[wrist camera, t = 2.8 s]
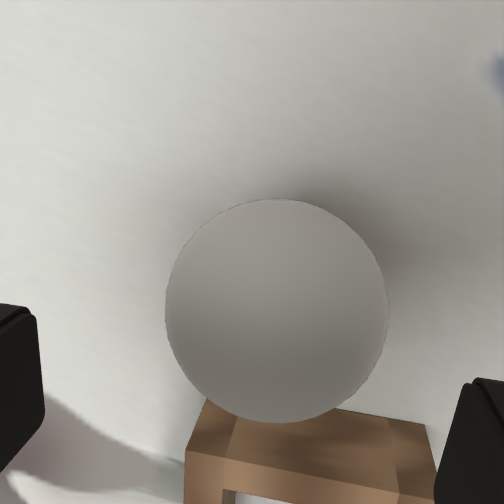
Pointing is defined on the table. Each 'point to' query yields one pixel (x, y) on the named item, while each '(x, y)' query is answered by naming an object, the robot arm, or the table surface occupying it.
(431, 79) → the table surface
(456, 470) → the robot arm
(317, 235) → the lightbulb
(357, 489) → the socket block
